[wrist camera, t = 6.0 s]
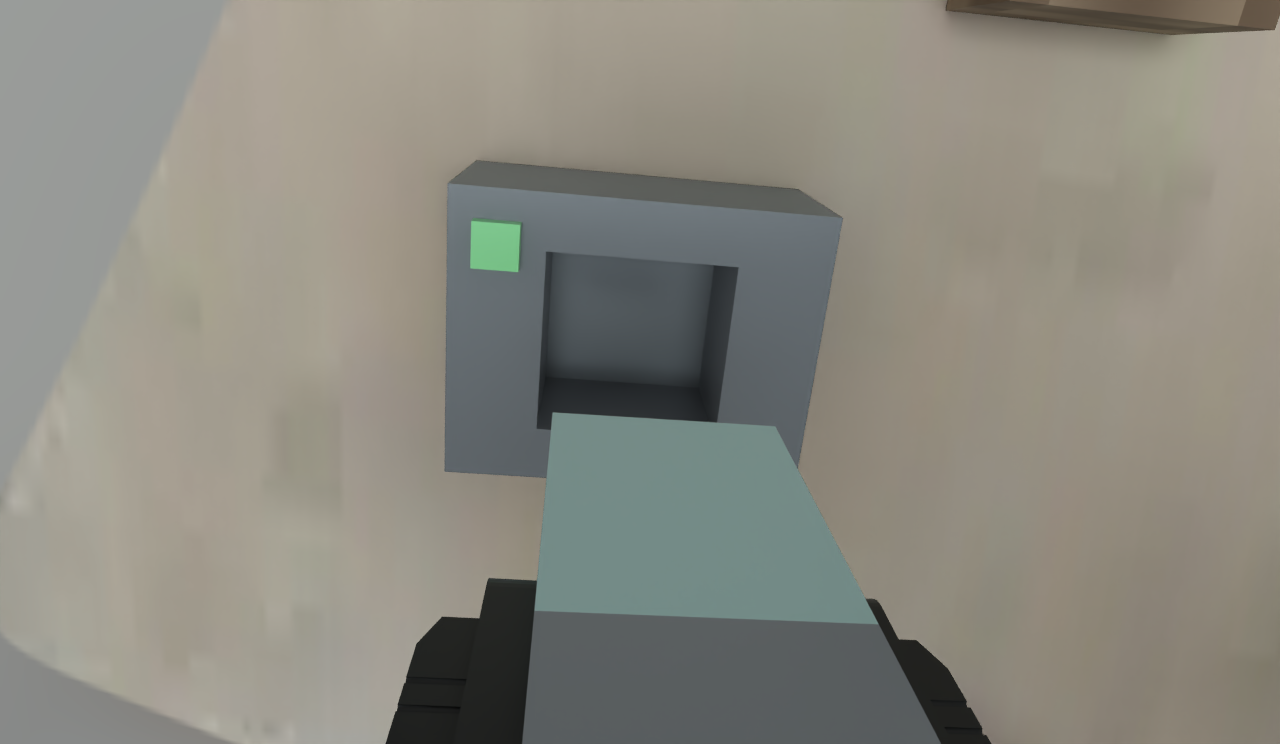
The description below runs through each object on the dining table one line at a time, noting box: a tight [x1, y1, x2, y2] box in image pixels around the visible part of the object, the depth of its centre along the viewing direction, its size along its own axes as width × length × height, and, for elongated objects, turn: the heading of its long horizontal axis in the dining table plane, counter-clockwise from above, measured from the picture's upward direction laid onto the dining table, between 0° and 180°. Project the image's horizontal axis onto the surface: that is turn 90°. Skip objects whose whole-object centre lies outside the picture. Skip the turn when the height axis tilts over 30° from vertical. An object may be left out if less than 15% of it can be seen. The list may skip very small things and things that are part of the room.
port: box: [445, 160, 843, 478], centre depth 24 cm, size 10×8×5 cm
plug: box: [522, 412, 941, 744], centre depth 10 cm, size 4×4×8 cm
